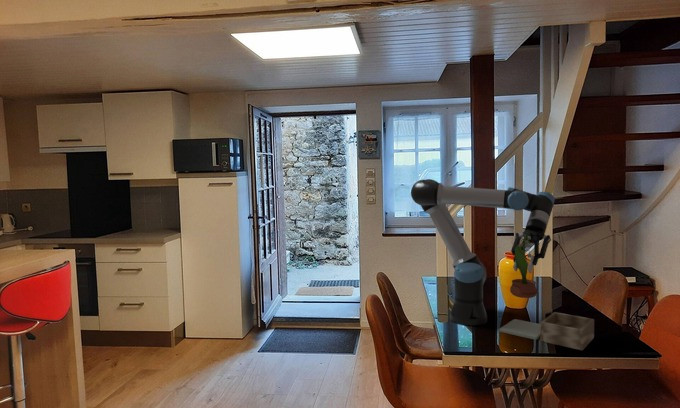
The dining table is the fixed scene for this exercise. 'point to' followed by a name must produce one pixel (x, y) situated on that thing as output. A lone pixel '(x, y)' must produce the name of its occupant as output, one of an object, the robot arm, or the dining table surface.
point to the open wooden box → (567, 330)
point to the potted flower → (523, 273)
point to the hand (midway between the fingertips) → (522, 270)
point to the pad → (522, 329)
